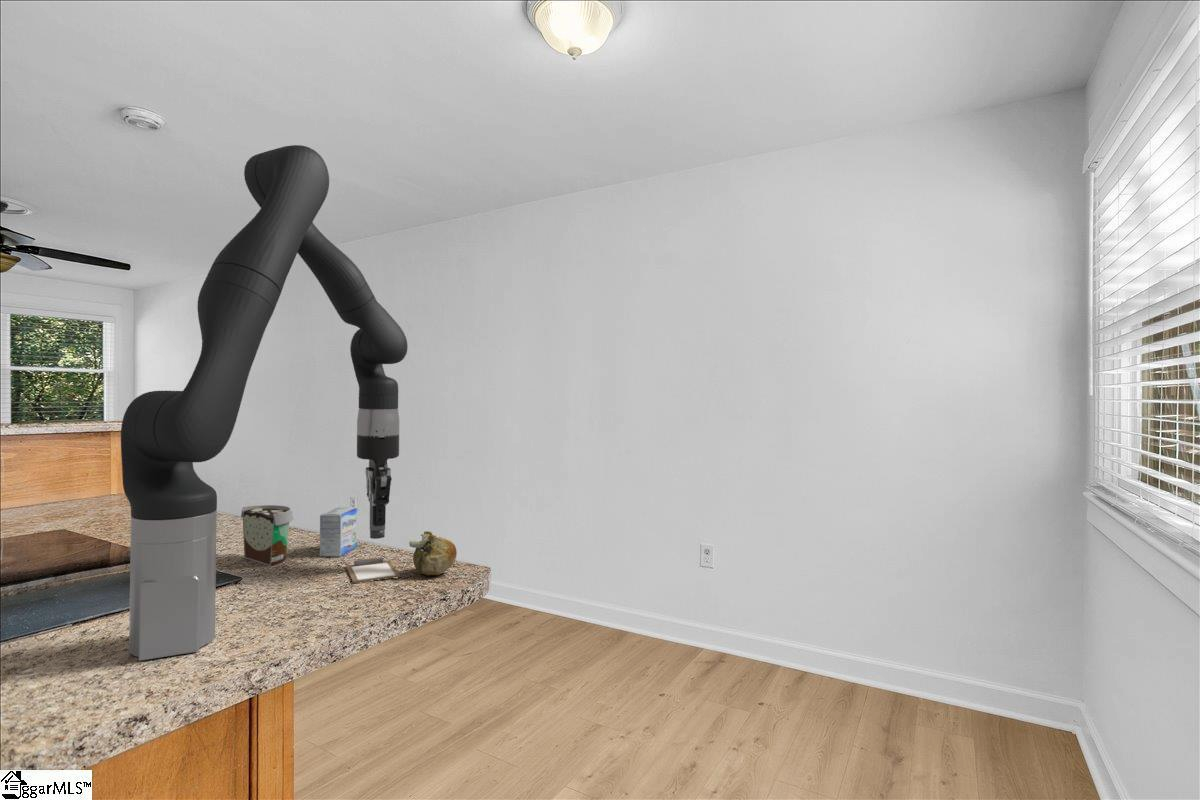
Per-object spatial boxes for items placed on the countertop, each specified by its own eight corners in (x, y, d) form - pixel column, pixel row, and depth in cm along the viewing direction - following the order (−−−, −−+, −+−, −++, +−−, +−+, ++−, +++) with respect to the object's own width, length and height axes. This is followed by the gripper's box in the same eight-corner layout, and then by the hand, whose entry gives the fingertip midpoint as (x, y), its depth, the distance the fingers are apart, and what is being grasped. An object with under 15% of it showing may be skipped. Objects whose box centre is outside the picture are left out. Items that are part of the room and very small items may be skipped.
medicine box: (340, 557, 121) (341, 514, 121) (318, 557, 121) (319, 514, 121) (357, 547, 129) (358, 507, 129) (336, 546, 129) (337, 506, 129)
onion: (447, 581, 107) (448, 536, 107) (404, 578, 108) (405, 534, 108) (461, 568, 115) (462, 527, 115) (421, 566, 116) (422, 525, 116)
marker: (387, 537, 113) (387, 477, 113) (370, 539, 112) (370, 478, 112) (384, 534, 116) (384, 474, 116) (367, 535, 115) (368, 475, 114)
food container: (305, 560, 118) (306, 509, 118) (274, 567, 113) (275, 514, 113) (271, 550, 125) (271, 502, 125) (240, 557, 120) (241, 506, 120)
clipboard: (400, 577, 109) (400, 571, 109) (353, 583, 105) (353, 577, 105) (389, 562, 118) (389, 556, 118) (345, 567, 114) (345, 561, 114)
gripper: (352, 430, 118) (351, 518, 118) (362, 436, 106) (361, 534, 106) (392, 429, 121) (391, 514, 122) (406, 435, 109) (405, 529, 110)
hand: (377, 523), depth 114 cm, fingers closed on marker, 2 cm apart
